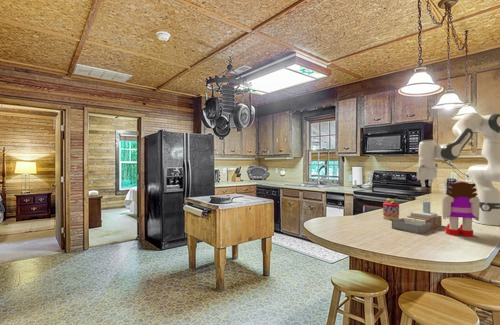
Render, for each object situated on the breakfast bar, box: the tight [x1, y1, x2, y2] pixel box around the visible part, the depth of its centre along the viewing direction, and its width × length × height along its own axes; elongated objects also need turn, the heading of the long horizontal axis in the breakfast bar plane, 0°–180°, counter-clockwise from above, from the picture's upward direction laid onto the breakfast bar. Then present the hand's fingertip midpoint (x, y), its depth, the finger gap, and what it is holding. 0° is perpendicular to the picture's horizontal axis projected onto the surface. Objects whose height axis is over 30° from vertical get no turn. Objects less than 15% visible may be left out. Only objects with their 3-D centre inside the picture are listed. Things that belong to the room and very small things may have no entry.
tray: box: [391, 217, 432, 235], centre depth 166 cm, size 14×16×5 cm
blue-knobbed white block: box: [410, 200, 438, 219], centre depth 176 cm, size 10×11×9 cm
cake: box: [382, 197, 400, 221], centre depth 197 cm, size 10×11×15 cm
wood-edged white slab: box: [406, 214, 443, 229], centre depth 176 cm, size 20×12×6 cm, turn 125°
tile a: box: [415, 219, 426, 225], centre depth 166 cm, size 5×5×2 cm
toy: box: [441, 181, 480, 238], centre depth 155 cm, size 18×9×30 cm, turn 74°
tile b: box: [404, 216, 415, 225], centre depth 171 cm, size 5×5×2 cm
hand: (426, 186), depth 178 cm, fingers open, 8 cm apart
